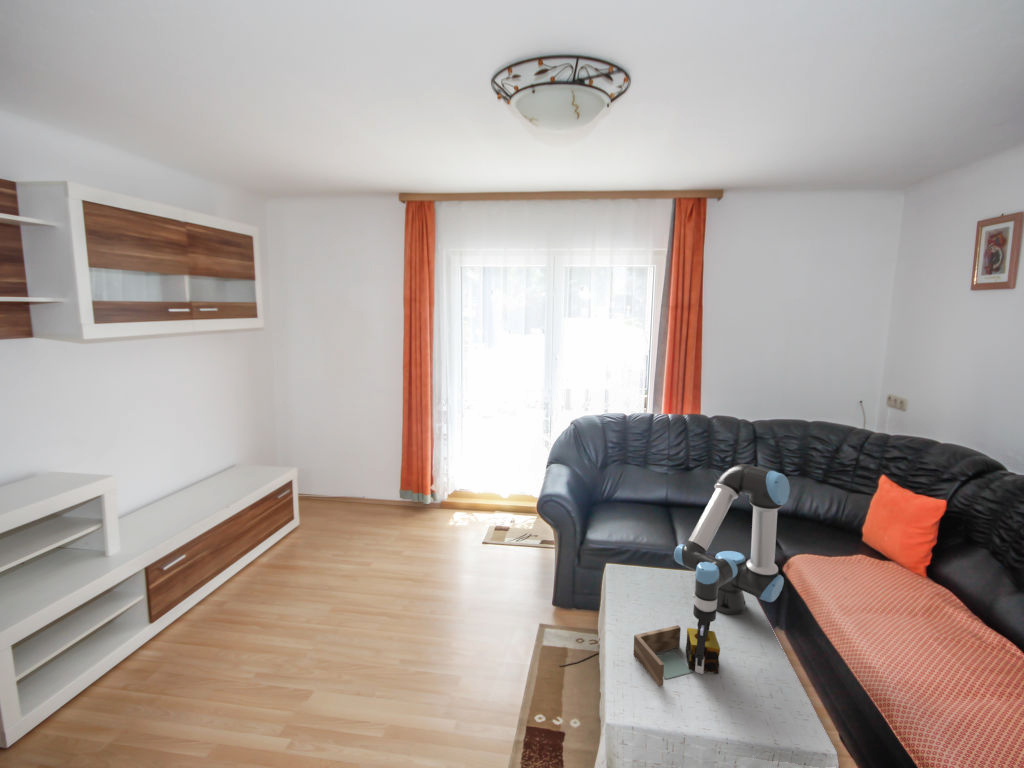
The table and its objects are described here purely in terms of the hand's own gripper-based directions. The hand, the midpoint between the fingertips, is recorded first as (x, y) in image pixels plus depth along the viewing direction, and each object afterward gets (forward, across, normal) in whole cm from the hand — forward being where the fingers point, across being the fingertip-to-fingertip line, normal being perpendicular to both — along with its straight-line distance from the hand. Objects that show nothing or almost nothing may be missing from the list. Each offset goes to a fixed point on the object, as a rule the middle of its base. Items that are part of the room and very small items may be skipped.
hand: (701, 661), depth 184 cm
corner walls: (+1, +6, -10) cm, 11 cm away
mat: (+1, +6, -10) cm, 12 cm away
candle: (+1, 0, 0) cm, 1 cm away
